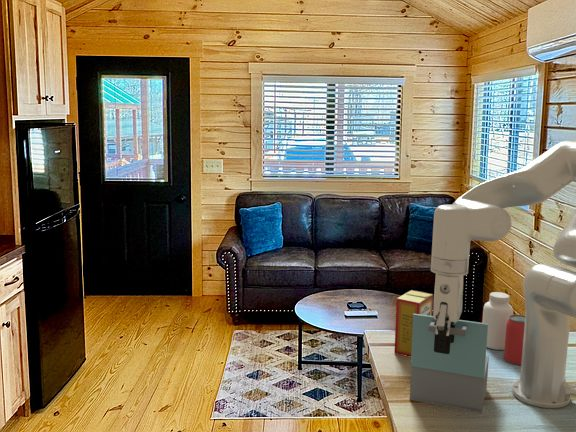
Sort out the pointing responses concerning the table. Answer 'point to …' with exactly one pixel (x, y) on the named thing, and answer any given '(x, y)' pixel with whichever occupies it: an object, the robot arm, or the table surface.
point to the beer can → (514, 339)
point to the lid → (463, 351)
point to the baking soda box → (409, 318)
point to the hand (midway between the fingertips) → (444, 346)
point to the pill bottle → (497, 319)
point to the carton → (449, 388)
